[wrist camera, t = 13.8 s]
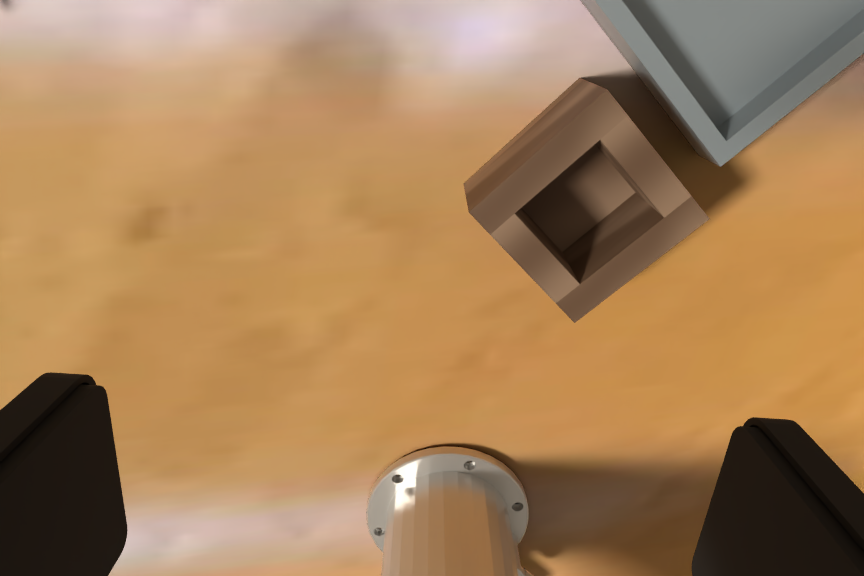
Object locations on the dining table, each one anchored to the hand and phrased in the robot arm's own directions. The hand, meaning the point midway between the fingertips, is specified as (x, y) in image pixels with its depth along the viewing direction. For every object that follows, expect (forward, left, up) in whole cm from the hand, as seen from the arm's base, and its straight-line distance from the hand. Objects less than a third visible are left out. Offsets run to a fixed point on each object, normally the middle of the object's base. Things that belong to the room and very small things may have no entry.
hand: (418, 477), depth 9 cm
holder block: (-8, -4, -30) cm, 31 cm away
